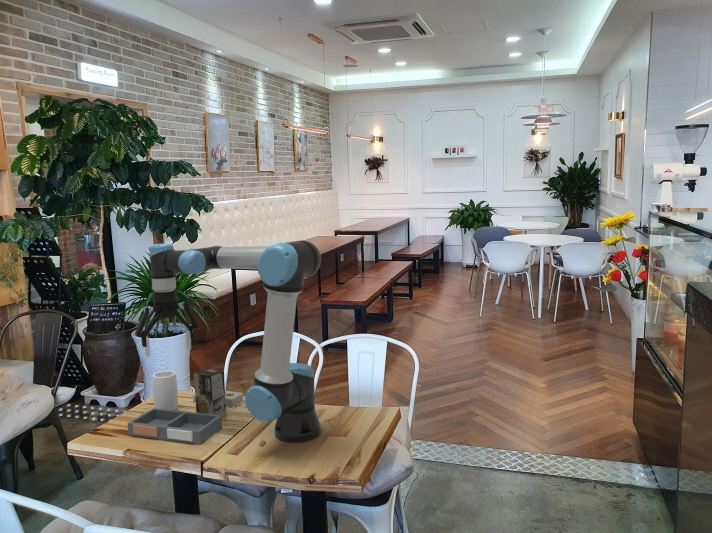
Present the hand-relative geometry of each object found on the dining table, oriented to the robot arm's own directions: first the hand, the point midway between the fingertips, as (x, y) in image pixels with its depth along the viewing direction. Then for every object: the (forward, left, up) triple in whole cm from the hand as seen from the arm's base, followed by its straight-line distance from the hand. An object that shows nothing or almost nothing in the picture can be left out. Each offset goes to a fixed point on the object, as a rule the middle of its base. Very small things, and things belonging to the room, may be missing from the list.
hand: (168, 352), depth 189 cm
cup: (+10, -11, -26) cm, 30 cm away
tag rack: (-4, +4, -26) cm, 26 cm away
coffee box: (-8, -12, -26) cm, 30 cm away
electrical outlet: (-3, -24, -27) cm, 36 cm away
